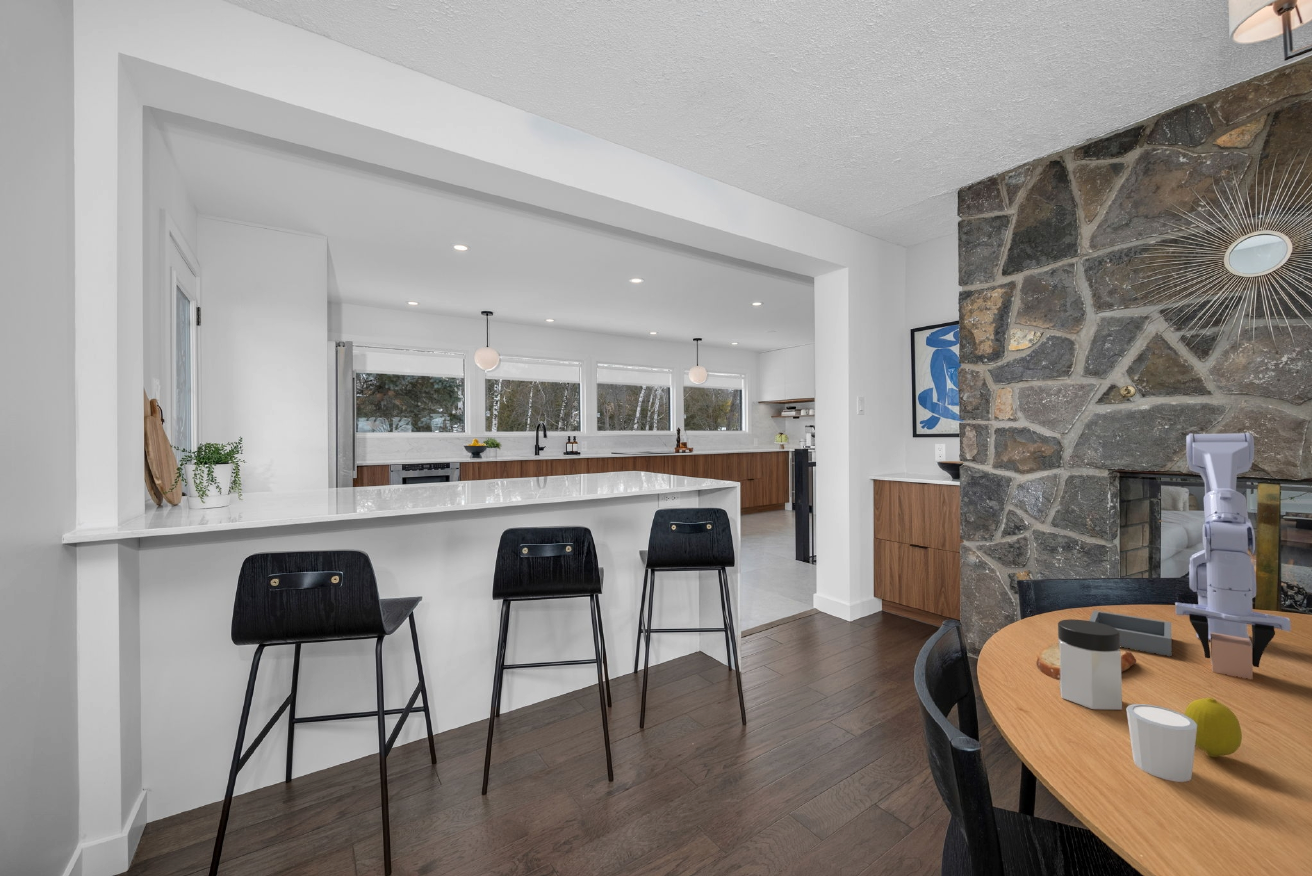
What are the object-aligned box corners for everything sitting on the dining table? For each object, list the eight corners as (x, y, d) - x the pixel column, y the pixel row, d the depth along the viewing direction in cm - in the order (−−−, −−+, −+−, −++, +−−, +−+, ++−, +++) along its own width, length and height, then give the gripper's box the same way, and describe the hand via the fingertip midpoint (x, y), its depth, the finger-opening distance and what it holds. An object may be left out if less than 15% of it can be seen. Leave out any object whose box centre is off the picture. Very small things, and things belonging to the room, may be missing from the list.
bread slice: (1047, 682, 98) (1047, 661, 98) (1018, 646, 115) (1017, 628, 115) (1172, 696, 92) (1172, 674, 92) (1122, 655, 109) (1121, 637, 109)
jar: (1135, 704, 89) (1133, 630, 89) (1108, 716, 85) (1106, 639, 85) (1073, 682, 97) (1071, 615, 97) (1046, 692, 93) (1044, 622, 93)
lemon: (1254, 770, 71) (1253, 709, 71) (1204, 766, 72) (1203, 705, 72) (1220, 747, 76) (1218, 690, 76) (1174, 743, 77) (1172, 687, 77)
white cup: (1113, 755, 75) (1112, 704, 75) (1159, 752, 75) (1158, 701, 75) (1164, 786, 68) (1163, 730, 68) (1214, 782, 69) (1213, 727, 69)
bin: (1094, 625, 126) (1093, 610, 126) (1171, 638, 117) (1170, 622, 117) (1087, 640, 116) (1087, 624, 116) (1171, 656, 107) (1171, 638, 107)
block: (1211, 663, 104) (1210, 632, 104) (1249, 671, 100) (1248, 638, 101) (1212, 672, 100) (1211, 639, 100) (1252, 679, 97) (1252, 646, 97)
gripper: (1174, 584, 103) (1176, 656, 102) (1292, 599, 93) (1294, 679, 93) (1174, 577, 108) (1176, 646, 108) (1286, 590, 98) (1288, 666, 98)
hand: (1230, 660), depth 100 cm, fingers open, 5 cm apart
